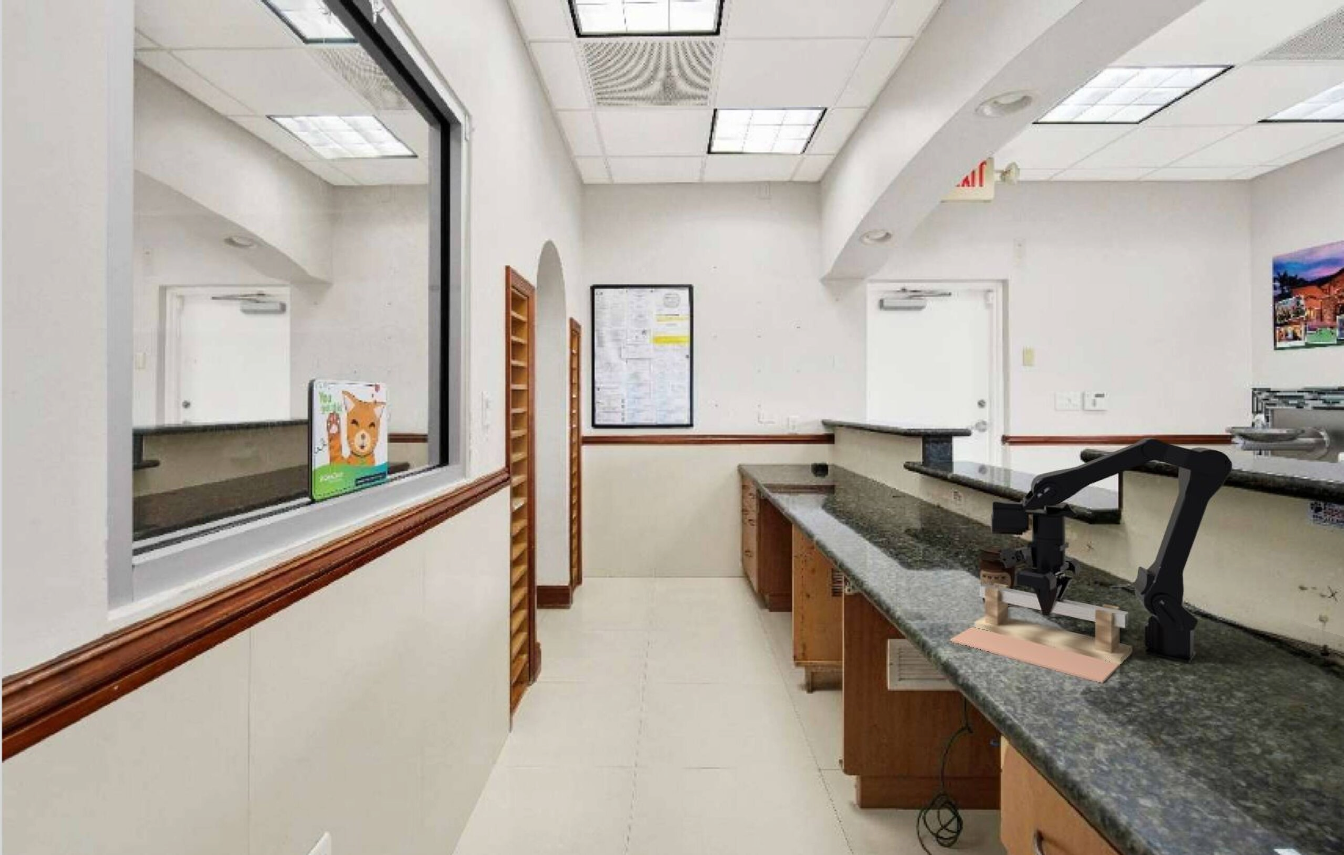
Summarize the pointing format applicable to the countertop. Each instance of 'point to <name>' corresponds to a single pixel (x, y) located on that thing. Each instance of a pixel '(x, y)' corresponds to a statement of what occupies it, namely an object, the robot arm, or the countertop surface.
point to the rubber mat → (1037, 654)
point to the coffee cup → (995, 569)
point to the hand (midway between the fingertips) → (1048, 613)
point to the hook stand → (1056, 631)
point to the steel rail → (1057, 605)
